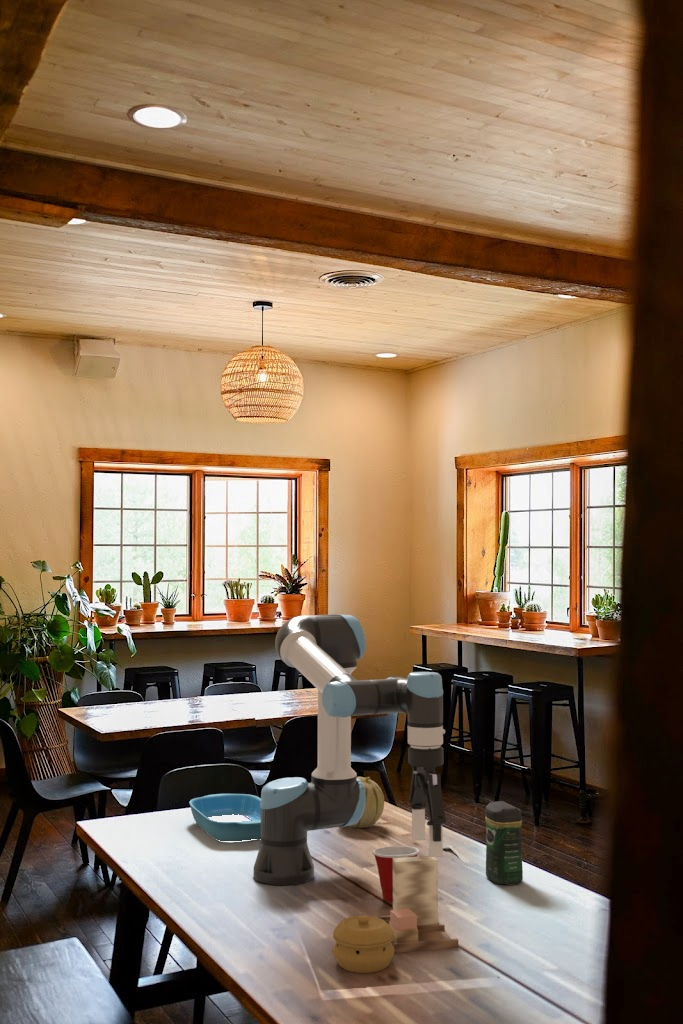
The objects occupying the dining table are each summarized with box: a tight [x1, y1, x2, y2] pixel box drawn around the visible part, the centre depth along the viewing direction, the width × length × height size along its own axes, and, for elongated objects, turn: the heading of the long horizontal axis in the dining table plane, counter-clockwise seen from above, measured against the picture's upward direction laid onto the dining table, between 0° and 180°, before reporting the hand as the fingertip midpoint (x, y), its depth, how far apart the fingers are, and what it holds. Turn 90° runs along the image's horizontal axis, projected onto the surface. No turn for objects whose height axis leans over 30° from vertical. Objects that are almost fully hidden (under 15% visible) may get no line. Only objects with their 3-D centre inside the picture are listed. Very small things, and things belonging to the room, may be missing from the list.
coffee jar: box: [484, 800, 524, 886], centre depth 240 cm, size 10×8×19 cm
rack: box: [376, 915, 459, 954], centre depth 199 cm, size 13×16×3 cm
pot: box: [332, 914, 395, 974], centre depth 185 cm, size 12×12×10 cm
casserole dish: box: [188, 793, 261, 841], centre depth 287 cm, size 37×22×7 cm, turn 24°
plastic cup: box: [372, 845, 420, 903], centre depth 223 cm, size 11×11×12 cm
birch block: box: [392, 855, 439, 926], centre depth 204 cm, size 9×3×14 cm, turn 100°
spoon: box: [443, 841, 471, 864], centre depth 261 cm, size 4×21×2 cm, turn 19°
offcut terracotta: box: [389, 908, 417, 931], centre depth 196 cm, size 4×4×2 cm
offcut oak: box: [389, 921, 418, 943], centre depth 196 cm, size 4×6×3 cm
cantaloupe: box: [349, 776, 385, 829], centre depth 290 cm, size 15×15×15 cm
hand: (427, 848), depth 205 cm, fingers open, 13 cm apart
